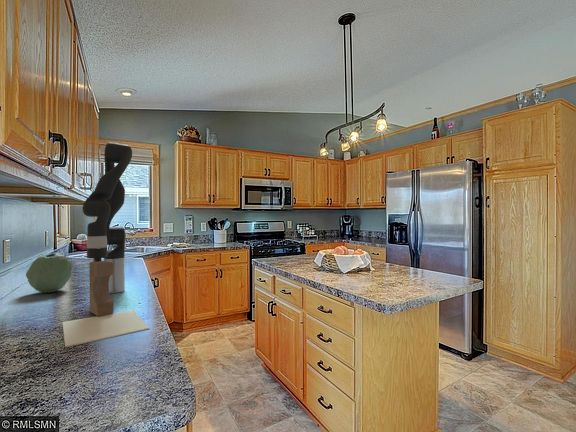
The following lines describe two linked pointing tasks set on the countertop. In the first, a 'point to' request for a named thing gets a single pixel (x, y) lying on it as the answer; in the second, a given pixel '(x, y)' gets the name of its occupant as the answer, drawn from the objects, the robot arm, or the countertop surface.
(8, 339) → the countertop surface
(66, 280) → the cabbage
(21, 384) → the countertop surface
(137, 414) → the countertop surface
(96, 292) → the decorative block
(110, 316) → the sand mat
